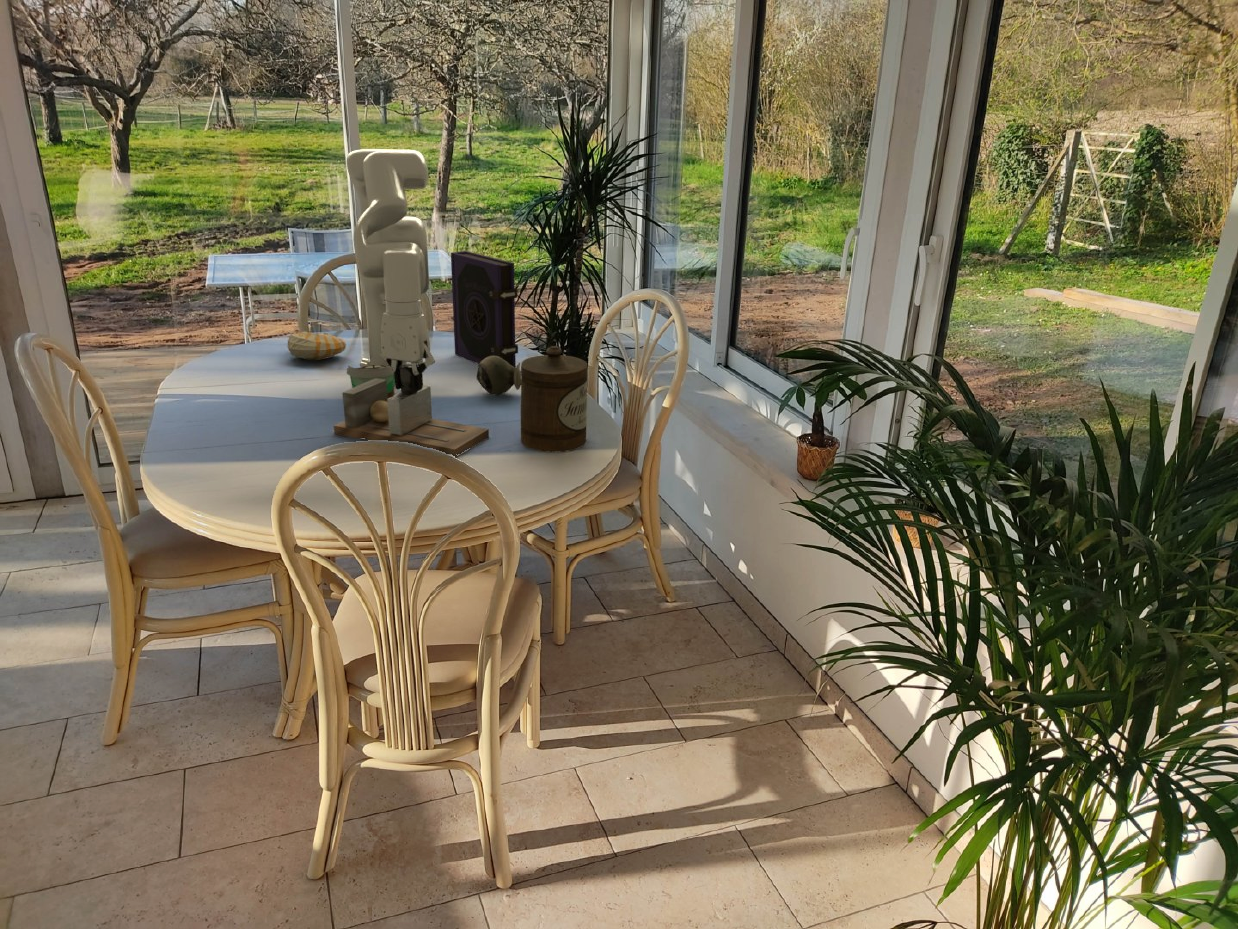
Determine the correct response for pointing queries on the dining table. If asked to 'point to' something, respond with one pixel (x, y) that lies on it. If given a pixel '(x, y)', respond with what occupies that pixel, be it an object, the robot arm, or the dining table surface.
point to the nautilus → (314, 345)
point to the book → (483, 307)
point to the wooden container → (553, 402)
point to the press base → (427, 435)
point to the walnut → (379, 411)
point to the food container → (372, 376)
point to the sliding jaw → (408, 405)
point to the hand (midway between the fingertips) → (409, 388)
